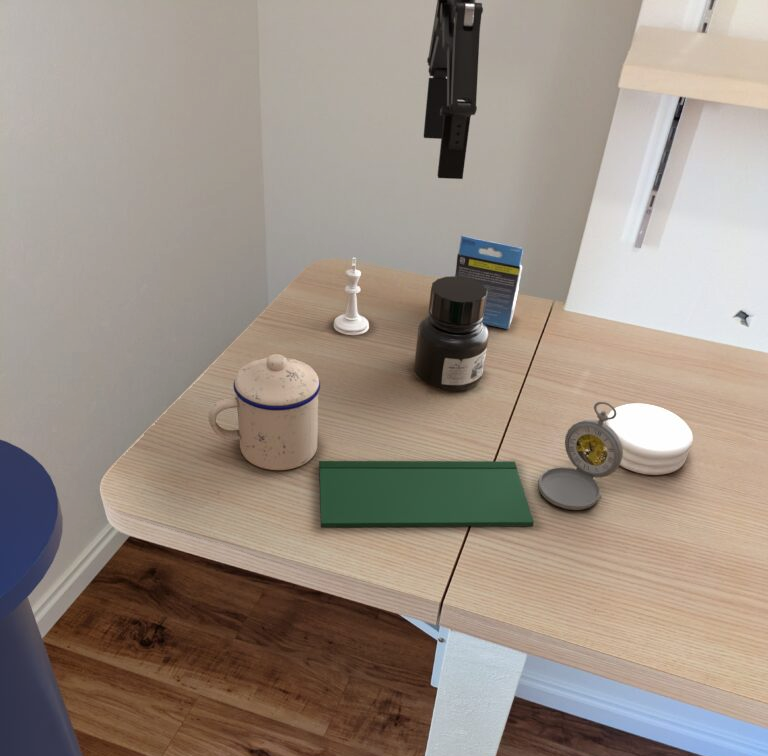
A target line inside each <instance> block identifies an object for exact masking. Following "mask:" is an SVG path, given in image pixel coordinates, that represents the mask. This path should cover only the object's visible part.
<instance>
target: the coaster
mask: <svg viewBox="0 0 768 756" xmlns="http://www.w3.org/2000/svg"><path fill="white" fill-rule="evenodd" d="M614 408H615V410H616V413H617V414H616V417H615V418H614V419H611V420H607V421H604V424H606V425H608V426H609V427H610V428H611V429H612V430H613V431H614V432H615V433H616V434H617V436H618V438H619V440H620V441H621V445H622V449H623V457H622V460H621V463H620V465H619V467H622V468H624V469H626V470H628V471H631V472H634V473H638V474H642V475H649V476H661V475H667V474H671V473H674V472H676V471H678V470H679V469H680V468H681V467H683V465H684V464H686V463H685V462H686V461H687V457H688V455H689V453H690V449H691V448H692V446H693V442H694V436H693V432H692V430H691V428H690V427H689V425H688V424H687V423H686V422H685V421H684V420H683V419H682V418H681V417H680V416H678V415H677V414H675V413H673V412H672V411H670V410H668V409H665V408H663V407H659V406H656V405H653V404H647V403H627V404H623V405H619V406H617V407H614ZM613 415H614V411H613V409H612V410H611V411H610V412H609V413H608V414H607V416H608V417H612V416H613ZM604 448H605V449H606V447H603V450H605V449H604ZM606 451H607V449H606Z"/></svg>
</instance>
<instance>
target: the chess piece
mask: <svg viewBox="0 0 768 756" xmlns="http://www.w3.org/2000/svg"><path fill="white" fill-rule="evenodd" d="M351 260H352V261H351V268H350V269H347V270H346V271H345V276H346V278H347V283H348V285H346V286H345V287H344V291H345V292H346V293H348V299H347V304H346V311H345V313H343V314H340V315H337V317H335V319H334V321H333V328H334V330H335V331H336V332H338V333H339V334H341V335H346V336H360V335H363V334H365V333H366V332H368V330H369V329H370V323H369V320H368V319H367V317H365V316H363V315H361V314H360V313H359V311H358V300H357V294H358V293H360V292H361V291H362V289H361V287H360V286H359V285H358V284H359V280H360V278H361V275H362V272H361V271H360V270H359V269H357V268H356V267H357V266H356V265H357V257H352V259H351Z"/></svg>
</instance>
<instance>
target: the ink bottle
mask: <svg viewBox="0 0 768 756" xmlns="http://www.w3.org/2000/svg"><path fill="white" fill-rule="evenodd" d="M486 298H487V289H486V288H485V286H484V285H483V284H481V283H479V282H478V281H476V280H473V279H470V278H467V277H459V276H455V275H453V276H452V275H451V276H443V277H440V278H437V279H436V280H435V281H433V282H432V283H431V287H430V296H429V303H428V315H427V316H425V317H424V318H423V319H422V320H421V322H419V325H418V328H417V334H416V336H417V337H416V344H415V345H416V346H415V354H414V365H413V372H414V374H415V376H416V377H417V378H418V379H419V380H420V381H421V382H422V383H423V384H425V385H427V386H429V387H431V388H435V389H437V390H441V391H446V392H459V391H460V392H461V391H466V390H468V389H471V388H473V387H474V386H476V385H477V384H478V383H479V382H480V381H481V379H482V377H483V374H484V367H485V362H486V355H487V351H488V343H489V336H490V335H489V329H488V327H487V325H486V324H484V323H483V322H482V320H483V316H484V310H485V304H486Z"/></svg>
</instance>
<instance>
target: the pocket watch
mask: <svg viewBox="0 0 768 756" xmlns="http://www.w3.org/2000/svg"><path fill="white" fill-rule="evenodd" d="M599 405H606V406H608V407H609V408H611V409H612V410H613V411H614V415H613V416H612V417H608V414H607V411H606V410H601V412H599V411H598V409H597V407H598V406H599ZM615 408H616V407H614V406H613V405H612V404H610V403H609V402H606V401H598V402H596V403H594V405H593V410H594V413H595V414H596V417H597V419H598V420H597V419H583V420H580V421H577V422H576V423H574V424H572V425H571V427H569V429H568V430H567V432H566V435H565V437H564V447H565V452H566V454H567V456H568V459H569V461H570V462H571V463H572V464H573V466H574V467H575V468H574V467H567V466H558V467H557V466H556V467H553V468H549V469H546V470H545V471H544V472H543V473H541V475H540V477H539V479H538V490H539V492H540V494H541V495H542V497H543V498H545V500H547V502H550V503H551V504H553V505H554V506H556V507H559V508H562V509H564V510H571V511H572V510H573V511H576V510H577V511H578V510H579V511H580V510H584V509H589V508H591V507H592V506H594V505H595V504H597V502H598V501H599V499H600V496H601V487H600V485H599V484H598V482H597V481H596V479H594V478H604V477H608V476H610V475H612V474H613V473H614V472H615V471H616V470H617V469H618V468H619V467H620V463H621V460H622V457H623V449H622V445H621V441H620V440H619V438H618V436H617V434H616V433H615V432H614V431H613V430H612V429H611V428H610V427H609V426H608V425H606V424H605V421H607V420H611V419H614V418H615V417H616V414H617V413H616V410H615ZM603 447H606V449H607V451H606V449H605V448H604V449H605V450H603ZM604 457H606V459H605V458H604Z"/></svg>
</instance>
